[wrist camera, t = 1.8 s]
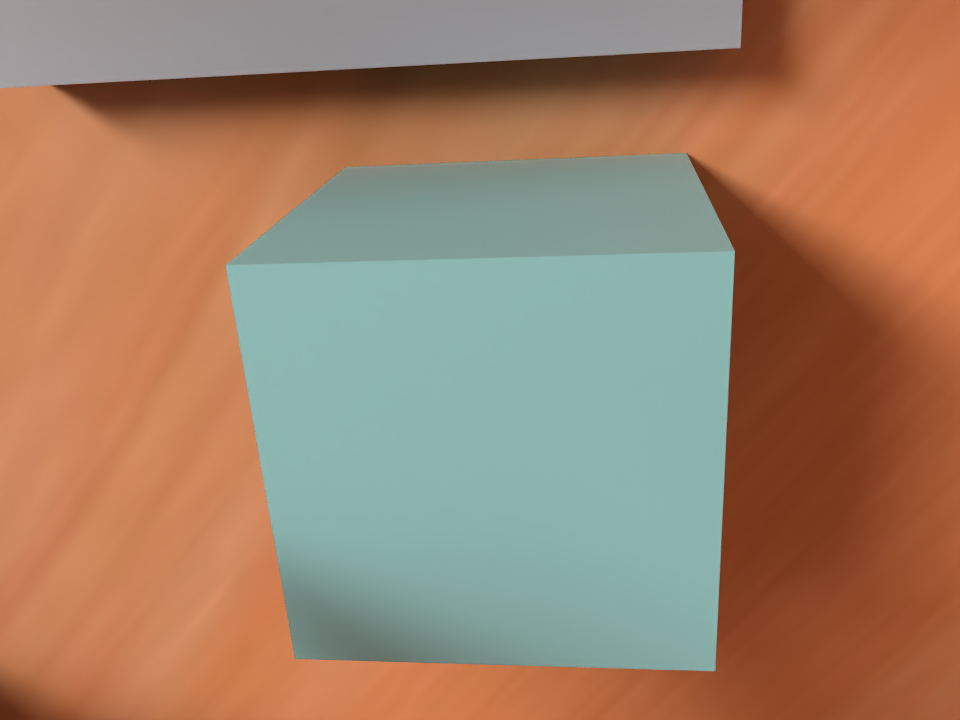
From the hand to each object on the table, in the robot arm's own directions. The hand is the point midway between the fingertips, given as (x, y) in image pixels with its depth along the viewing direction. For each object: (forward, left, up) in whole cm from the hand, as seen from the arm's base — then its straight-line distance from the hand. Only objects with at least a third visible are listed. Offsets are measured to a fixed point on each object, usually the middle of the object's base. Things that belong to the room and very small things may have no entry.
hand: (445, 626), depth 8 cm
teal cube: (0, 0, -7) cm, 7 cm away
